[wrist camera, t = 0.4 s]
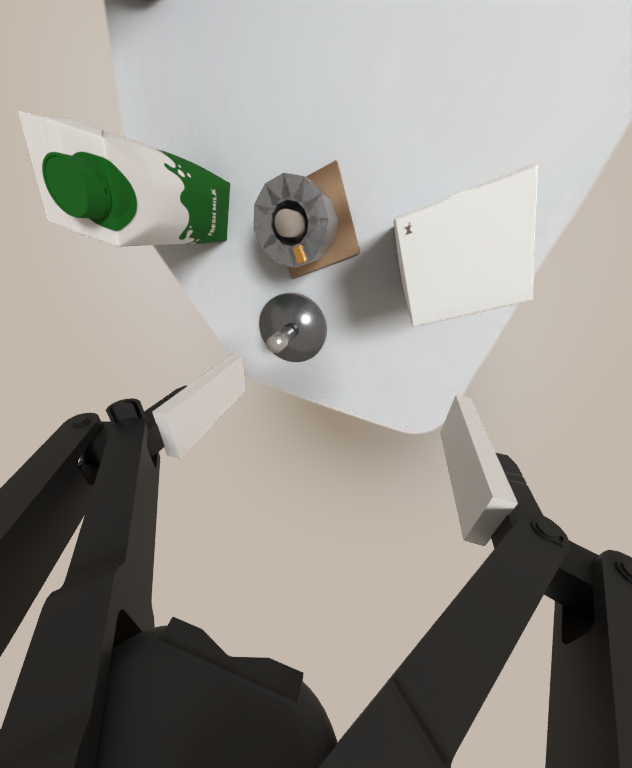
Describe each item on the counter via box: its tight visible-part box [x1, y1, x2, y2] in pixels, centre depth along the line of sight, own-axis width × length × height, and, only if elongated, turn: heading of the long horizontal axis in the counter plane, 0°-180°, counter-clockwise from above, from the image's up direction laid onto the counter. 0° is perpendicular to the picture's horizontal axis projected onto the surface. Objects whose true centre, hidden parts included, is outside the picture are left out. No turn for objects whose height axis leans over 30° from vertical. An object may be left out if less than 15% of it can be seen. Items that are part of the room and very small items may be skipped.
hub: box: [260, 293, 327, 362], centre depth 38 cm, size 11×11×8 cm
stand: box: [275, 161, 360, 279], centre depth 30 cm, size 10×10×10 cm
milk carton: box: [18, 111, 230, 247], centre depth 28 cm, size 9×9×20 cm
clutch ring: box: [254, 173, 338, 268], centre depth 28 cm, size 8×8×5 cm
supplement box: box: [394, 164, 538, 327], centre depth 25 cm, size 9×9×15 cm
